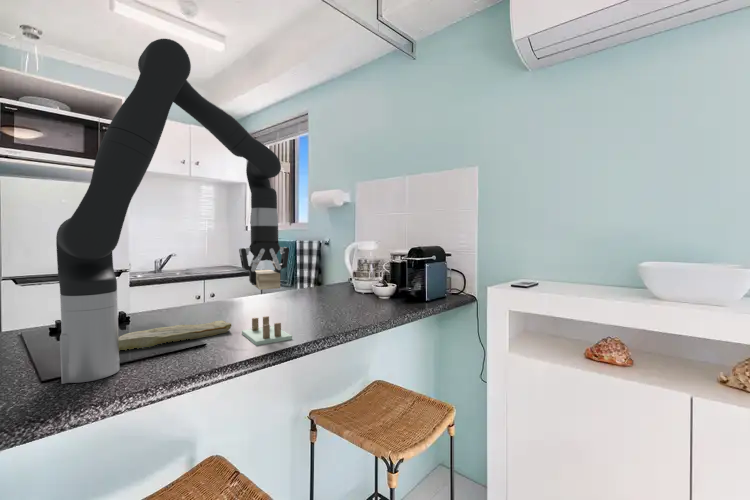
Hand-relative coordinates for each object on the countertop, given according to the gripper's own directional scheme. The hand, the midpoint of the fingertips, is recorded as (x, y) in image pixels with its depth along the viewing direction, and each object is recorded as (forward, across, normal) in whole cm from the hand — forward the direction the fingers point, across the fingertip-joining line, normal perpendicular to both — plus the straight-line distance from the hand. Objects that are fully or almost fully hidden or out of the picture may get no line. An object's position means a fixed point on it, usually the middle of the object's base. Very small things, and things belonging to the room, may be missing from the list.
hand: (265, 283), depth 103 cm
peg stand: (+15, 0, 0) cm, 15 cm away
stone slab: (+16, -22, +14) cm, 30 cm away
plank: (+1, 0, 0) cm, 1 cm away
